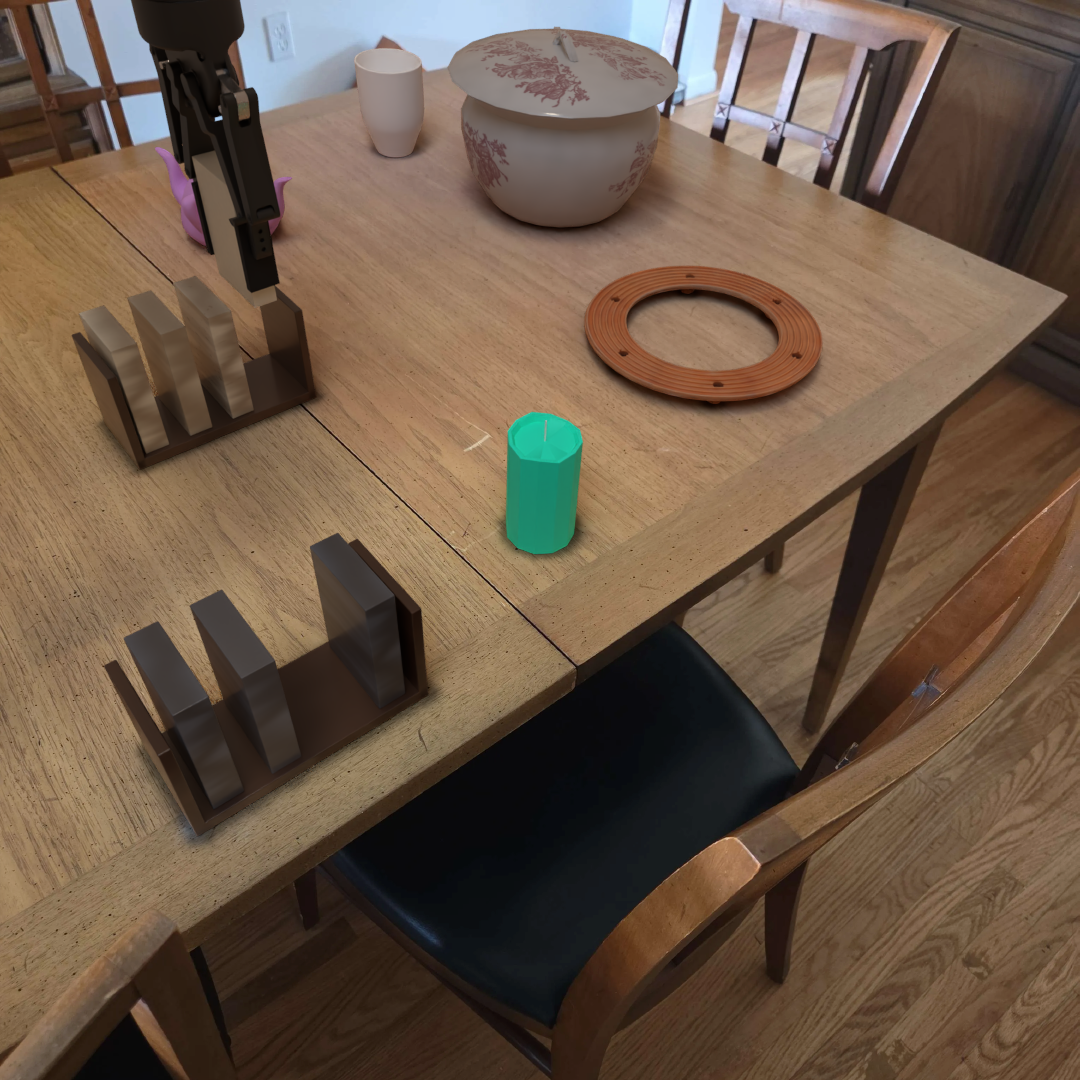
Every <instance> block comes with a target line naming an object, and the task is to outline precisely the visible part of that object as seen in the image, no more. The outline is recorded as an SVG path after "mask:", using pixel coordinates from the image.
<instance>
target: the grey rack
mask: <svg viewBox="0 0 1080 1080" xmlns="http://www.w3.org/2000/svg"><path fill="white" fill-rule="evenodd" d="M309 551H310V557H311V561H312V566H313V571H314V577H315V581H316V586H317V590H318V596H319V600H320V605H321V610H322V616H323V620H324V626H325V631H326V635H327V641H326V642H324V643H323V644H321V645H319V646H317V647H315V648H314V649H311V650H310V651H308V652H306V653H305V654H303V655H301V656H298V657H297V658H295V659H294V660H292V661H290V662H288V663H286V664H285V665H283V666H281V667H278V666H277V665H278V664H277V662H276V659H275V658H274V656H273V655H272V654H271V653H270V651H269V650H268V649H267V647H266V646H265V645H264V643H263V642H262V640H261V639H260V638H259V636H258V635H257V634H256V632H255V631H254V630H253V628H252V627H251V626H250V625H249V623H248V622H247V620H246V619H245V618H244V617H243V615H242V614H241V613H240V611H239V610H238V609H237V607H236V606H235V605H234V603H233V601H232V600H231V599H230V597H229V596H228V595H227V593H226V592H225V590H223V589H220V590H219V589H218V591H215V592H213V593H211V594H210V595H207V596H205V597H203V598H201V599H199V600H197V601H195V602H193V603H190V604H189V609H190V611H191V614H192V617H193V620H194V622H195V625H196V628H197V631H198V633H199V636H200V639H201V642H202V644H203V647H204V650H205V653H206V655H207V658H208V661H209V664H210V667H211V669H212V672H213V675H214V677H215V680H216V683H217V686H218V689H219V692H220V694H221V697H222V699H221V700H219V701H217V702H215V703H214V704H213V703H212V701H211V699H210V695H209V694H208V693H207V692H206V689H204V686H203V685H202V684H201V683H200V681H199V680H198V677H196V675H195V673H194V672H193V671H192V669H191V667H190V666H189V664H188V663H187V661H186V660H185V658H184V656H183V655H182V654H181V652H180V651H179V650H178V648H177V647H176V645H175V643H174V642H173V641H172V639H171V638H170V636H169V635H168V633H167V632H166V630H165V629H164V627H163V625H162V624H161V622H160V621H158V620H157V621H154V622H153V623H150V624H148V625H147V626H144V627H143V628H140V629H139V630H136V631H134V632H132V633H129V634H128V635H126V636H124V637H123V641H124V644H125V645H126V648H127V650H128V652H129V654H130V656H131V658H132V660H133V663H134V665H135V667H136V669H137V672H138V673H139V676H140V678H141V681H142V682H143V685H144V686H145V689H146V690H147V693H148V695H149V697H150V700H151V701H152V704H153V706H154V708H155V710H156V712H157V714H158V717H159V719H160V721H161V723H162V725H163V728H164V729H165V730H164V731H163V732H161V730H160V728H159V727H158V725H157V724H156V722H155V720H154V719H153V716H152V715H151V714H150V712H149V710H148V709H147V707H146V705H145V704H144V702H143V700H142V699H141V697H140V696H139V694H138V692H137V690H136V689H135V688H134V685H133V684H132V683H131V680H130V679H129V678H128V676H127V674H126V673H125V671H124V669H123V668H122V666H121V664H120V663H119V661H118V660H117V659H114V660H111V661H110V662H108V663H106V664H104V665H103V667H104V670H105V671H106V673H107V675H108V677H109V679H110V681H111V684H112V686H113V688H114V689H115V692H116V693H117V695H118V697H119V700H120V701H121V703H122V705H123V707H124V709H125V712H126V714H127V715H128V717H129V719H130V722H131V724H132V725H133V727H134V729H135V732H136V733H137V735H138V737H139V739H140V741H141V743H142V745H143V747H144V749H145V751H146V753H147V755H148V756H149V758H150V760H151V762H152V763H153V765H154V766H155V768H156V769H157V772H158V773H159V775H160V776H161V778H162V780H163V782H164V783H165V785H166V787H167V788H168V790H169V792H170V794H171V795H172V797H173V799H174V801H175V802H176V804H177V805H178V807H179V809H180V810H181V812H182V814H183V816H184V817H185V819H186V820H187V822H188V824H189V826H190V828H191V829H192V830H193V832H194V834H195V836H196V837H200V836H201V835H203V834H204V833H206V832H207V831H210V830H211V829H212V828H215V827H216V826H217V825H219V824H220V823H222V822H224V821H225V820H227V819H229V818H230V817H232V816H234V815H235V814H237V813H239V812H240V811H242V810H244V809H245V808H247V807H248V806H250V805H251V804H254V803H255V802H257V801H258V800H260V799H262V798H263V797H265V796H266V795H268V794H270V793H271V792H272V791H274V790H276V789H278V788H279V787H280V786H282V785H284V784H286V783H288V782H289V781H291V780H292V779H293V778H295V777H297V776H299V775H300V774H302V773H303V772H305V771H307V770H309V769H310V768H312V767H313V766H315V765H317V764H318V763H320V762H321V761H323V760H325V759H327V758H328V757H329V756H331V755H333V754H335V753H337V752H338V751H339V750H341V749H342V748H344V747H346V746H347V745H350V744H351V743H352V742H354V741H356V740H357V739H359V738H361V737H363V735H366V734H368V732H370V731H372V730H374V729H375V728H377V727H378V726H380V725H382V724H383V723H385V722H387V721H388V720H389V719H392V718H393V717H394V716H396V715H398V714H399V713H402V712H403V711H404V710H406V709H408V708H409V707H411V706H412V705H414V704H416V703H418V702H419V701H421V700H422V699H424V698H426V697H427V696H429V686H428V674H427V663H426V662H427V661H426V651H425V650H426V649H425V638H424V623H423V612H422V607H421V606H420V605H419V604H418V603H417V601H415V600H414V599H413V598H412V596H411V595H410V594H409V593H408V592H407V591H406V590H405V589H404V587H403V586H402V585H401V584H400V583H399V582H398V581H397V580H396V578H394V577H393V576H392V574H390V572H389V571H388V570H387V569H386V568H385V567H384V566H383V565H382V563H380V561H379V560H378V559H377V558H376V557H375V556H374V555H373V553H371V552H370V550H369V549H368V548H367V547H366V546H365V545H364V544H363V543H362V542H361V541H360V540H359V538H356V539H353V540H351V541H350V542H347V541H346V540H345V538H344V537H343V536H342V535H341V534H340V533H339V532H336V533H334V534H331V535H330V536H328V537H325V538H324V539H321V540H320V541H318V542H315V543H314V544H311V545H310V546H309Z"/></svg>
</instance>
